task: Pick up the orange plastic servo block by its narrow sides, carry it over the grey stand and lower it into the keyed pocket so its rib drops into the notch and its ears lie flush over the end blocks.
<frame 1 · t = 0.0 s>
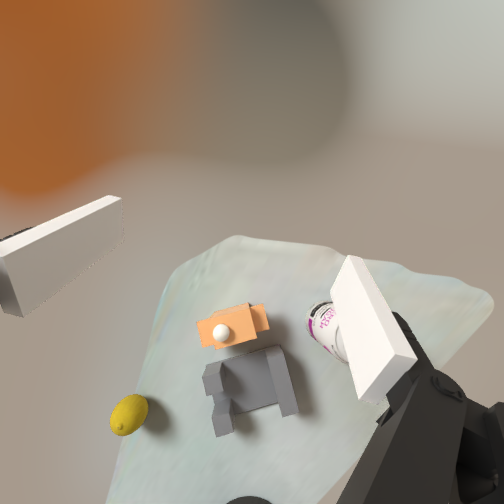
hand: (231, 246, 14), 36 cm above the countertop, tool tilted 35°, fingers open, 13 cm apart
lemon: (140, 401, 47), on the countertop
supplement can: (324, 320, 49), on the countertop
grey stand: (249, 380, 47), on the countertop
servo block: (234, 319, 49), on the countertop
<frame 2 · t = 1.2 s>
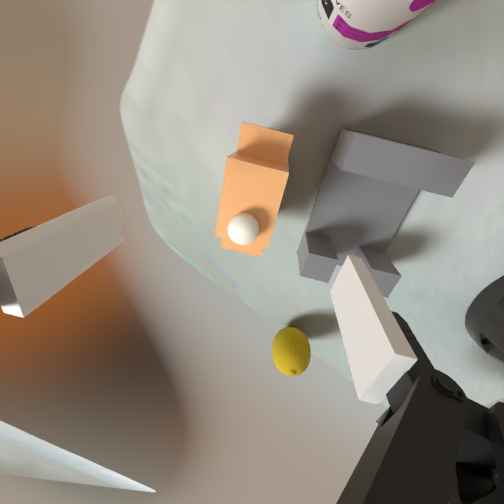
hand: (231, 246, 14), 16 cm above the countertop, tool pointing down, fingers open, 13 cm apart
lemon: (290, 328, 39), on the countertop
grey stand: (357, 207, 28), on the countertop
servo block: (258, 183, 28), on the countertop
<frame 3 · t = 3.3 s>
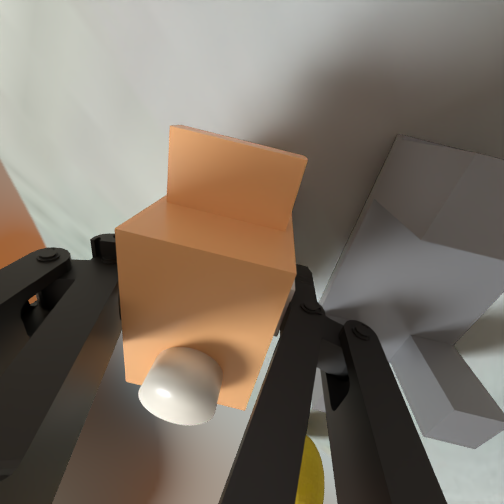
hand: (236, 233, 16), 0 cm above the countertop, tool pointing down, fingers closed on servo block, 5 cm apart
lemon: (292, 424, 27), on the countertop
grey stand: (413, 275, 16), on the countertop
servo block: (237, 231, 16), on the countertop, touching gripper
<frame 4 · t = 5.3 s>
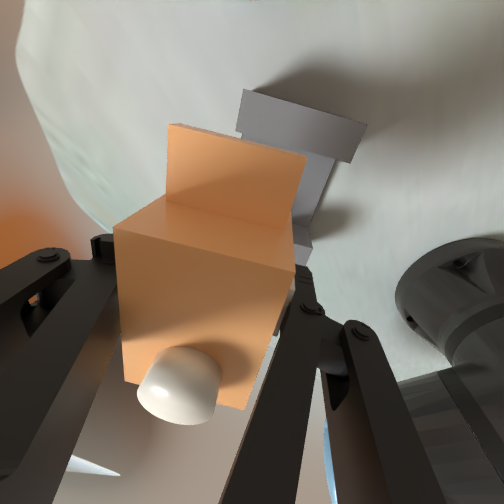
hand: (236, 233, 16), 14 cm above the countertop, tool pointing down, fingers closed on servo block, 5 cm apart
grey stand: (278, 180, 28), on the countertop
servo block: (237, 230, 16), point 14 cm above the countertop, touching gripper
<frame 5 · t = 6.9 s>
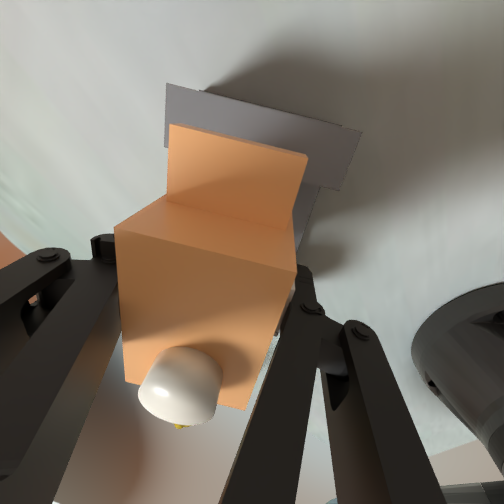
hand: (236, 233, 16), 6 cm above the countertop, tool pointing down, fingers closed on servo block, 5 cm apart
grey stand: (249, 207, 21), on the countertop
servo block: (237, 230, 16), point 5 cm above the countertop, touching gripper
when the fingers open (3 cm above the countertop, at t = 7.7 s): servo block drops 1 cm, resting on grey stand.
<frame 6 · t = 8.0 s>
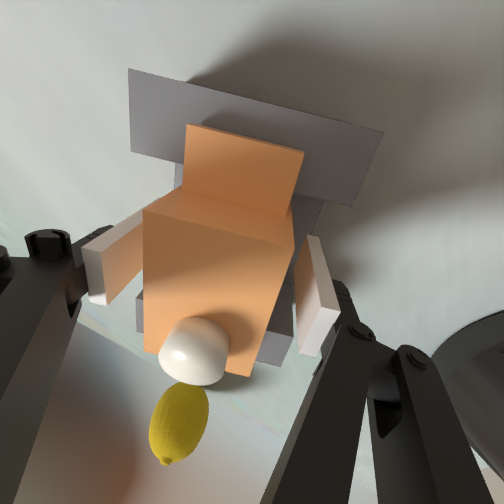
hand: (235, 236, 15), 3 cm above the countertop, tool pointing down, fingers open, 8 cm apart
lemon: (193, 378, 29), on the countertop
grey stand: (242, 218, 18), on the countertop
servo block: (241, 222, 17), point 1 cm above the countertop, touching grey stand
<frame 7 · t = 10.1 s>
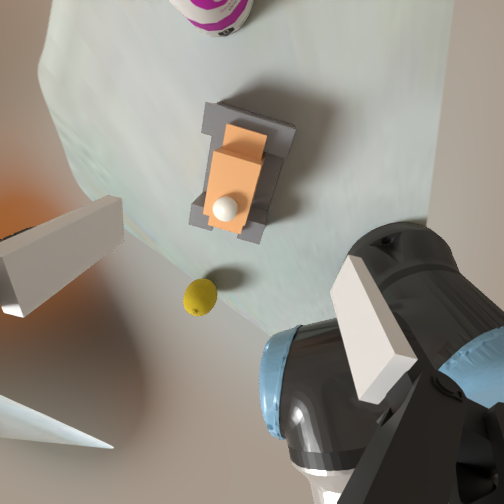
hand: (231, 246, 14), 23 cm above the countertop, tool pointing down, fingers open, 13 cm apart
lemon: (207, 281, 45), on the countertop
grey stand: (242, 172, 35), on the countertop
servo block: (242, 173, 34), point 1 cm above the countertop, touching grey stand
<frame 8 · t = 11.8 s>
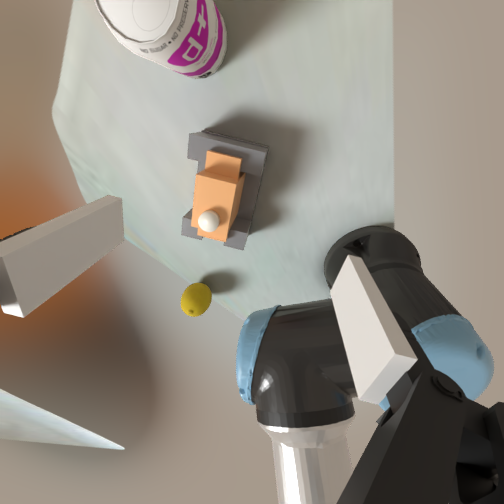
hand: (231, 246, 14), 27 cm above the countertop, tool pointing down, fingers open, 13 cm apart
lemon: (203, 285, 50), on the countertop
supplement can: (197, 41, 31), on the countertop
grey stand: (227, 187, 39), on the countertop
servo block: (226, 188, 39), point 1 cm above the countertop, touching grey stand
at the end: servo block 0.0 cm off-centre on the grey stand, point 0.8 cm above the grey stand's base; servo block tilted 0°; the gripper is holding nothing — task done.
